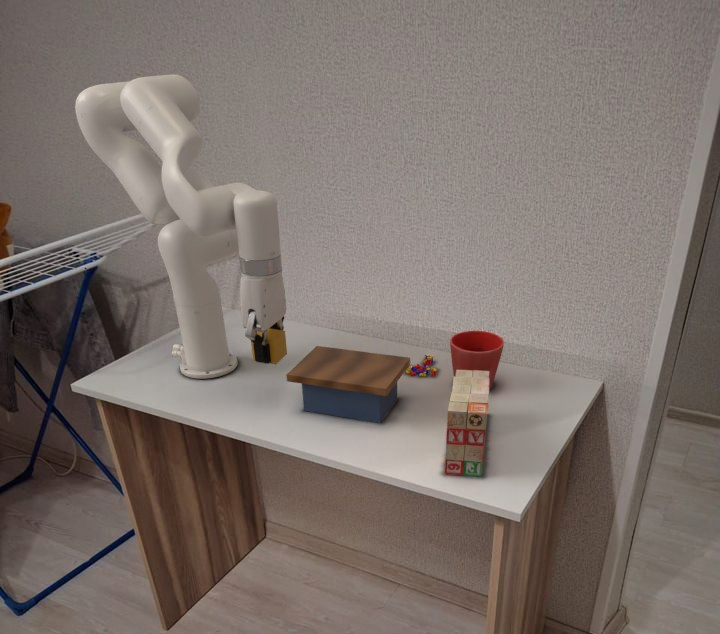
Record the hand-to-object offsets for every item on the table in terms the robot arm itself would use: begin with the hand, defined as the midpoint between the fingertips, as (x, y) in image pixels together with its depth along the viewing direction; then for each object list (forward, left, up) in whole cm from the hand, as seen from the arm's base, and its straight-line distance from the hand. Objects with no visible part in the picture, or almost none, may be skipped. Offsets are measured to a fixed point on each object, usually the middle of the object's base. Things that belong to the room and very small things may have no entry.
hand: (269, 355), depth 133 cm
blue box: (+17, +1, -9) cm, 19 cm away
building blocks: (+26, +21, -9) cm, 34 cm away
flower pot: (+38, +17, -9) cm, 42 cm away
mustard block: (0, 0, 0) cm, 0 cm away
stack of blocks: (+42, -6, -9) cm, 43 cm away
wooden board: (+17, +1, -2) cm, 17 cm away
